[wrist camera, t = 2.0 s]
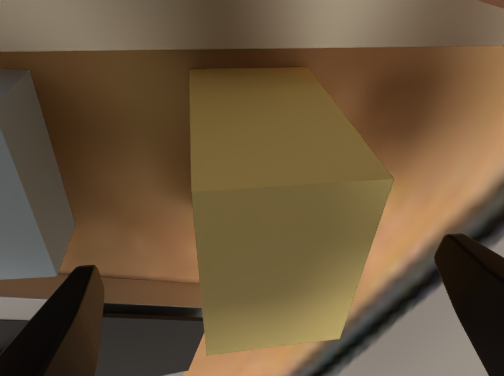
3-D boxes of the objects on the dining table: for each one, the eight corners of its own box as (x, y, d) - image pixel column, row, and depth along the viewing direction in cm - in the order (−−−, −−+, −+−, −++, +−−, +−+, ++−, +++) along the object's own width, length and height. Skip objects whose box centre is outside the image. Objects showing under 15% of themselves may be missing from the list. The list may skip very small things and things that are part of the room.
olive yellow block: (307, 66, 12) (393, 178, 7) (290, 201, 16) (339, 338, 11) (188, 68, 12) (191, 191, 7) (199, 207, 15) (206, 355, 10)
